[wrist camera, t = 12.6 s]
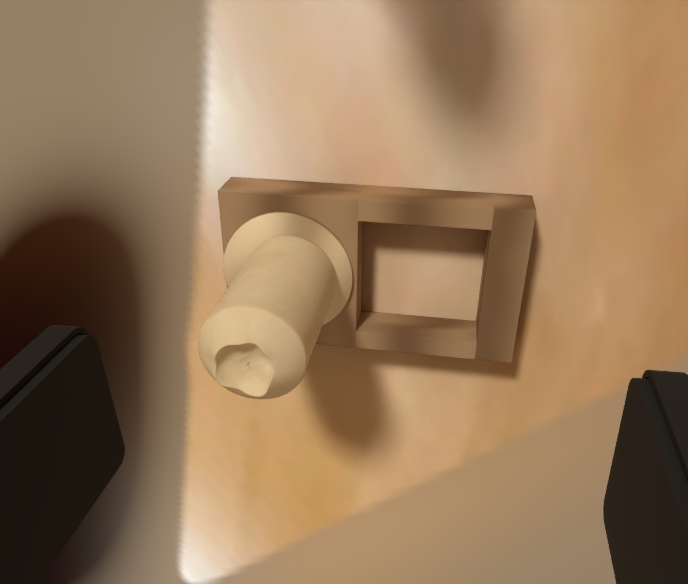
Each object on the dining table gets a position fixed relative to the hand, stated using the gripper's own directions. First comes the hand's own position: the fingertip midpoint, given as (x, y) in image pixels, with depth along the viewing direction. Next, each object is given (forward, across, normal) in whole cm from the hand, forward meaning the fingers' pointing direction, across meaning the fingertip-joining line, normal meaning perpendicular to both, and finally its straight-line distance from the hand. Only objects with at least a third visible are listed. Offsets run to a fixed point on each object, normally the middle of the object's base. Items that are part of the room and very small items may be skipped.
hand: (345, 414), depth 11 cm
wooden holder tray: (+28, +4, +10) cm, 30 cm away
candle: (+25, +8, +10) cm, 28 cm away
